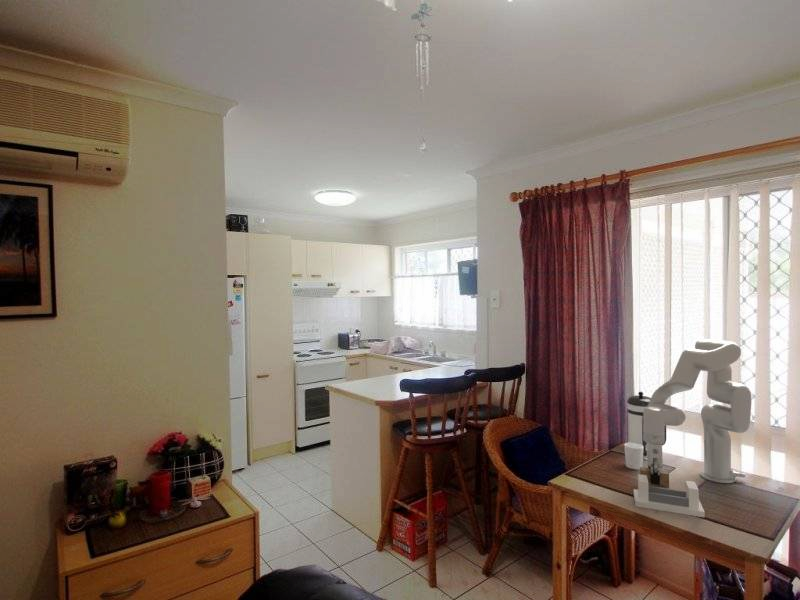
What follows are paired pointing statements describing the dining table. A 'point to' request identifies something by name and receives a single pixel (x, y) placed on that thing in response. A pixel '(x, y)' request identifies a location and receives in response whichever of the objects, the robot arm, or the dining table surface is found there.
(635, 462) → the white cup
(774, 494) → the dining table surface
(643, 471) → the brown wooden block
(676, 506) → the track frame
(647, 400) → the coffee press
